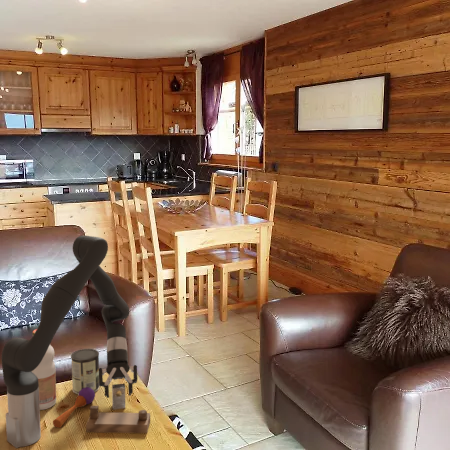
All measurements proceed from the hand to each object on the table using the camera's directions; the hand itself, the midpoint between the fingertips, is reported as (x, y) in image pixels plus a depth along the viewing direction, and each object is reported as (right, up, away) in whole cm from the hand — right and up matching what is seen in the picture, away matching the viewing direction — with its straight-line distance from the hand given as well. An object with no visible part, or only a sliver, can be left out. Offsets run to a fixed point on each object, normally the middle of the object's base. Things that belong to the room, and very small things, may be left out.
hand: (119, 396), depth 177 cm
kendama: (-15, -6, -2) cm, 16 cm away
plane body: (+2, -7, -10) cm, 12 cm away
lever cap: (-1, -5, +2) cm, 5 cm away
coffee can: (-16, -2, +15) cm, 22 cm away
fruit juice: (-28, -4, +3) cm, 29 cm away
